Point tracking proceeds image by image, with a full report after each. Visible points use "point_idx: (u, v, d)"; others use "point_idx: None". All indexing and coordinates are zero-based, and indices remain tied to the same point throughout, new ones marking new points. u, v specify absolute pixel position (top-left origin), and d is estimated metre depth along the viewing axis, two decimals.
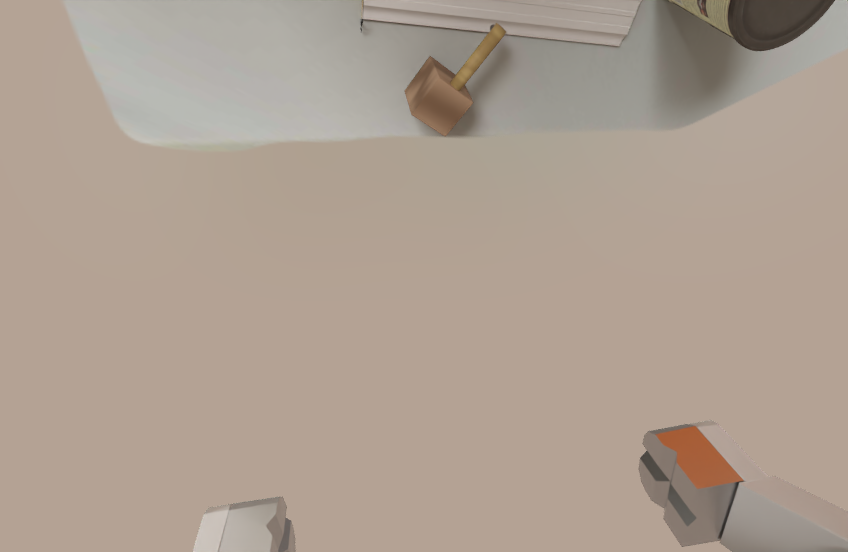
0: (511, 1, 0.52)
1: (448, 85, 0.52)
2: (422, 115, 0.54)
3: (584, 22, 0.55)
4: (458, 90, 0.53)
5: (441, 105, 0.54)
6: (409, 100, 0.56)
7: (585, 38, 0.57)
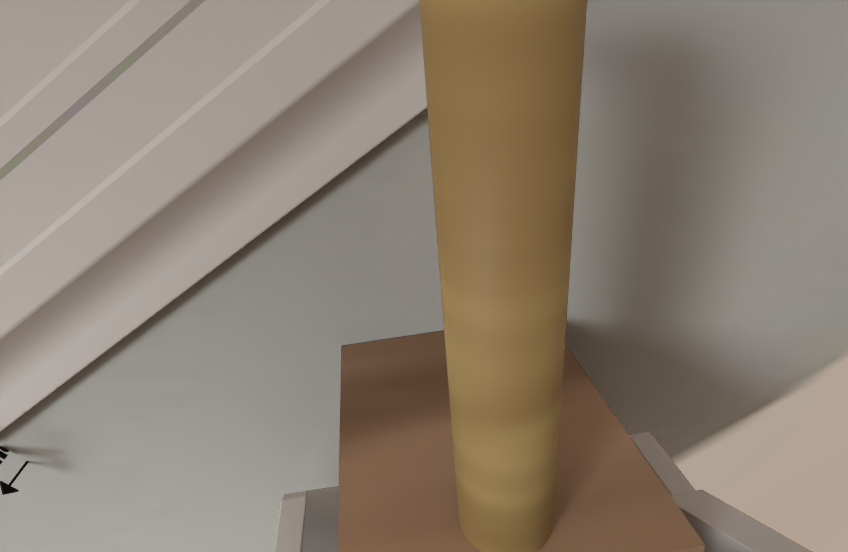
0: None
1: None
2: None
3: None
4: None
5: None
6: None
7: None
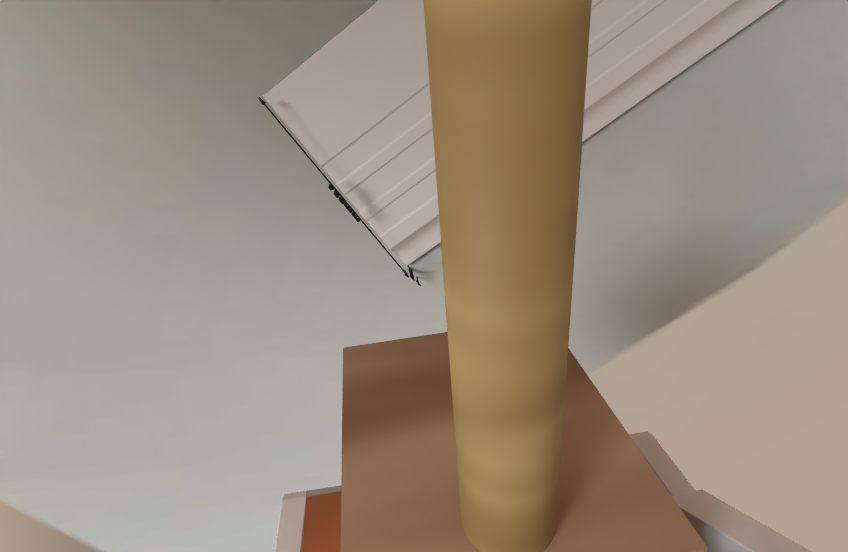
0: (653, 7, 0.21)
1: None
2: None
3: None
4: None
5: None
6: None
7: None
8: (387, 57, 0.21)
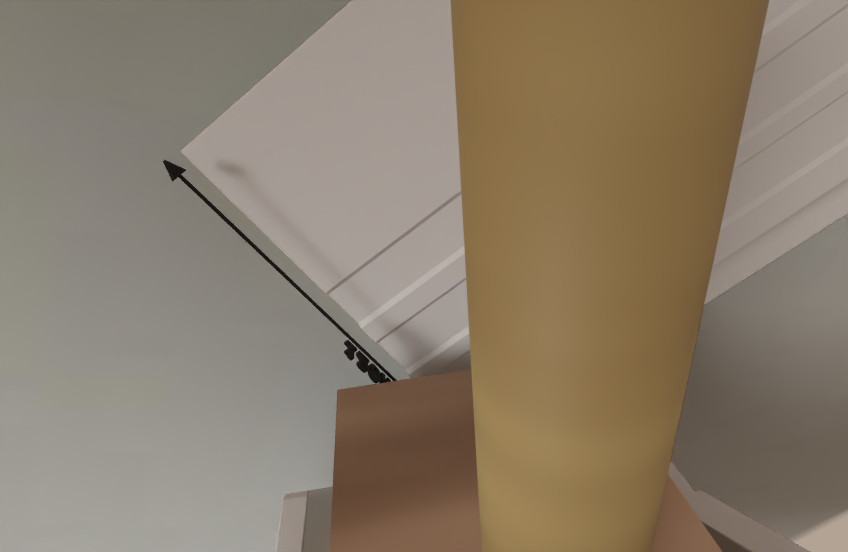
0: None
1: None
2: None
3: None
4: None
5: None
6: None
7: None
8: None
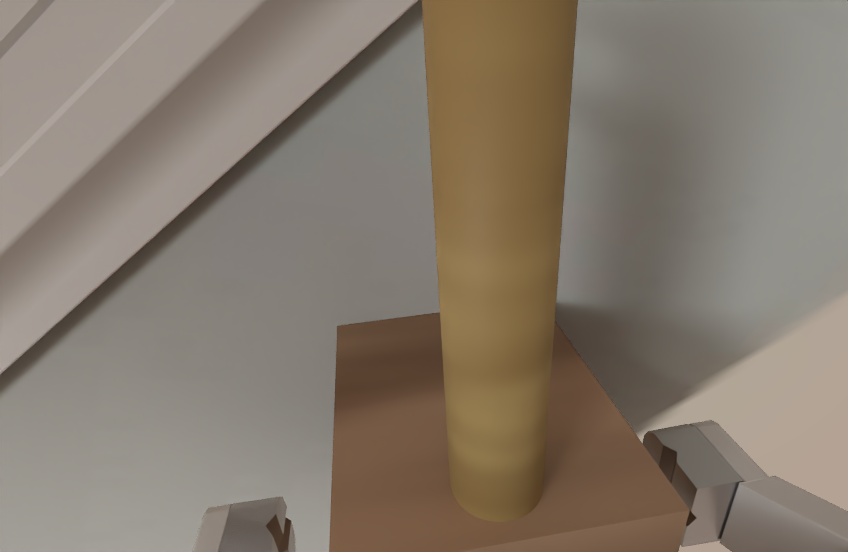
0: (38, 0, 0.07)
1: None
2: None
3: None
4: (528, 516, 0.07)
5: None
6: None
7: None
8: None
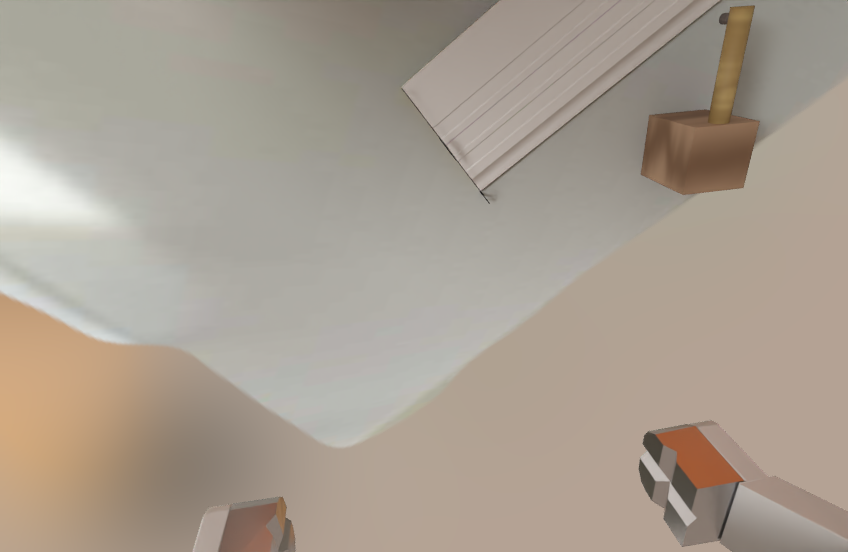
0: (627, 21, 0.35)
1: (712, 127, 0.35)
2: (697, 185, 0.37)
3: None
4: (728, 122, 0.35)
5: (716, 156, 0.36)
6: (661, 180, 0.39)
7: None
8: (473, 60, 0.35)
